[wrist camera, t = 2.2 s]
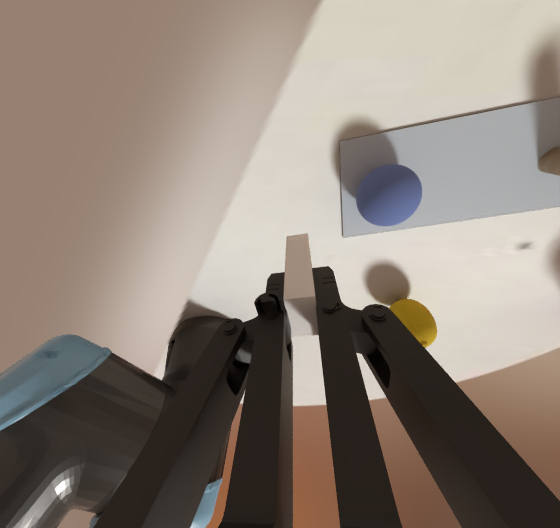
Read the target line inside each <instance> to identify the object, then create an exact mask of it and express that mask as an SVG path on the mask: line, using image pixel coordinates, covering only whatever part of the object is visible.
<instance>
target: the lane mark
mask: <svg viewBox="0 0 560 528" xmlns="http://www.w3.org/2000/svg"><path fill="white" fill-rule="evenodd" d="M559 146H560V97H557V98H552V99H547V100H542V101H537V102H532V103H527V104H522V105H518V106H513V107H508V108H503V109H498V110H493V111H488V112H483V113H478V114H473V115H468V116H463V117H458V118H453V119H448V120H443V121H438V122H433V123H428V124H423V125H418V126H413V127H408V128H403V129H398V130H393V131H388V132H383V133H378V134H373V135H368V136H363V137H358V138H353V139H348V140H343V141H340V168H341V196H342V224H343V238H347V237H354V236H361V235H368V234H375V233H382V232H389V231H395V230H402V229H409V228H416V227H423V226H430V225H437V224H444V223H451V222H458V221H465V220H472V219H479V218H486V217H493V216H500V215H507V214H514V213H521V212H528V211H534V210H541V209H548V208H555V207H560V176H558V175H554V174H549V173H545V172H541V171H539V169H538V163H539V160H540V159H541V157H542V156H543V155H544V154H545V153H546V152H547V151H549V150H550V149H552V148H555V147H559ZM389 164H398V165H403V166H406V167H408V168H409V169H411V170H412V171H414V172H415V174H416V175H417V176H418V178H419V179H420V182H421V185H422V198H421V202H420V204H419V206H418V208H417V209H416V211H415V212H414V213H413V214H412V215H411V216H410V217H409V218H408V219H407V220H405V221H403V222H402V223H399V224H397V225H393V226H386V227H385V226H377V225H374V224H371V223H369V222H368V221H366V220H365V219H364V218H363V217H362V216H361V214H360V213H359V211H358V208H357V204H356V194H357V190H358V187H359V185H360V183H361V182H362V180H363V179H364V178H365V177H366V176H367V175H368V174H369V173H370V172H371V171H373V170H374V169H376V168H378V167H381V166H384V165H389Z"/></svg>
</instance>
